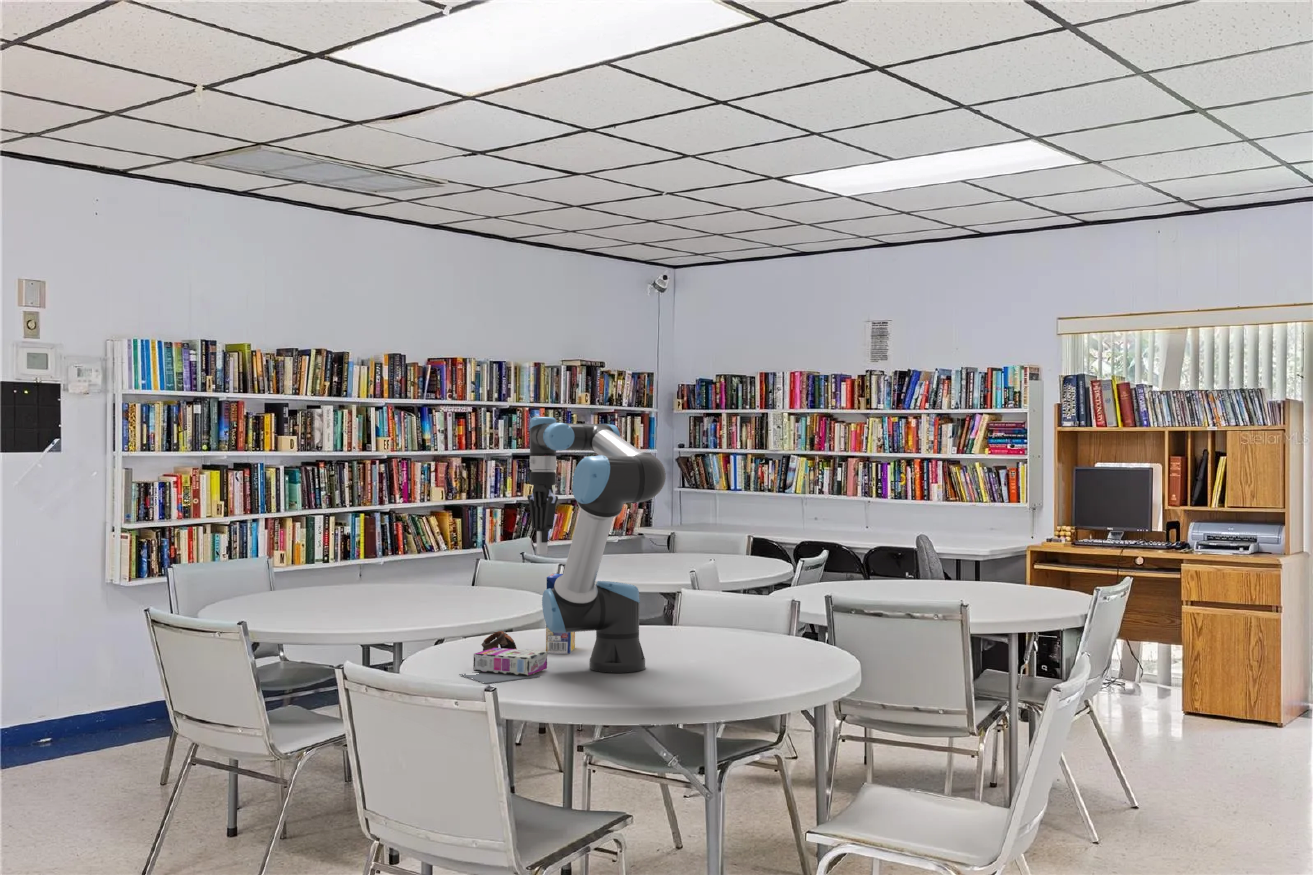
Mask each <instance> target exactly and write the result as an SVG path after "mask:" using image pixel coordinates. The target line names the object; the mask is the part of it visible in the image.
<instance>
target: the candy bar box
mask: <svg viewBox="0 0 1313 875" xmlns="http://www.w3.org/2000/svg"><path fill="white" fill-rule="evenodd" d="M472 667H473V672H491V673H503V674H514V675H525V676H529V675H531V674H536V673H539V672H542V671H544V670H547V668H548V653H547V651H546V650H545V651H544V650H542V651H541V650H531V649H518V648H517V649H505V648H501V647H498V648H492V649H488V650H485V651H483V650H482V651H479V652H475V653H473V666H472Z"/></svg>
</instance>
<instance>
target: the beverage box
mask: <svg viewBox="0 0 1313 875" xmlns="http://www.w3.org/2000/svg"><path fill="white" fill-rule="evenodd" d="M562 575H563V573H551V574H550V575H548V576H547V577H546V589H549V588H551V589H553V588H554V584H555V581H556V579H557V578H558V577H560V576H562ZM545 626H546V627H545V651H547V654H563V655H564V654H565V655H569V654H571V653H572V651H573V650H574V649H575V648H576V632H567V633H554V632H552V631H550V630H549V629H548V627H547V625H546V624H545Z"/></svg>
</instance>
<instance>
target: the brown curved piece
mask: <svg viewBox="0 0 1313 875" xmlns="http://www.w3.org/2000/svg"><path fill="white" fill-rule="evenodd" d="M480 645H481V646H482V651H485V650H488V649H492V648H505V649H518V648H517V646H516V642H515V640H514V639H513V638H512V636H511V635H509V634H508V633H506V632H504V630H503V631H502V630H500V631H496V632H493V633H492V634H490V635H489V636H488V637H486V638H485V639H484V640H483V642H482V643H481V644H480Z"/></svg>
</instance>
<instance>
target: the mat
mask: <svg viewBox="0 0 1313 875" xmlns="http://www.w3.org/2000/svg"><path fill="white" fill-rule="evenodd" d="M473 673H479V674H476V675H466V673H459V674H458V676H459V675H462V676H465V677H467V678H466V679H468V678H473V679H474V680H477V681H478V682H477V681H476V682H477V683H480V682H484V683H483V685H489V684H496V683H505V682H511V681H512V682H513V681H521V680H527V679H528V680H529V679H535V678H536V679H537V678H541V675H539V674H536V673H534V674H531V675H529V676H525V675H514V674H503V673H491V672H478V671H473ZM463 674H464V675H463ZM462 676H461V677H462ZM465 677H464V678H465ZM474 680H473V681H474ZM494 682H495V683H494Z"/></svg>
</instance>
